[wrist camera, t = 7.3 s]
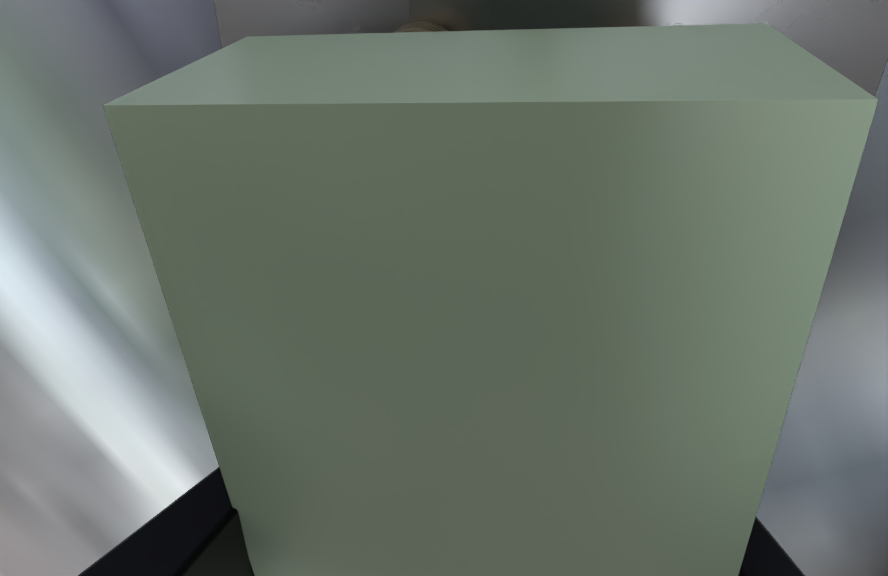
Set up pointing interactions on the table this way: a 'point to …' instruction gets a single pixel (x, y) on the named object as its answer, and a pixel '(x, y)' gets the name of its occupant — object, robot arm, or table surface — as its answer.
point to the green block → (495, 286)
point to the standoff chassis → (582, 21)
